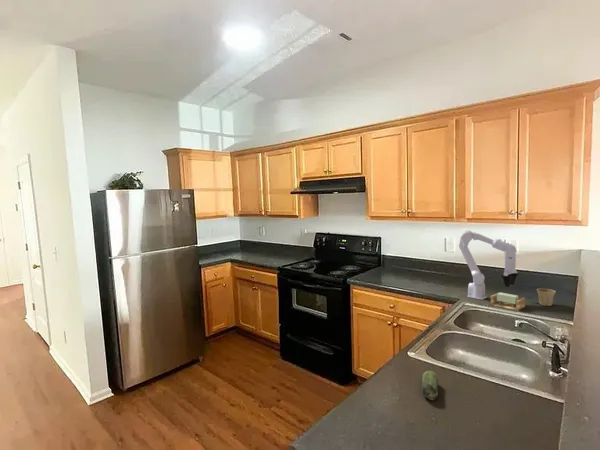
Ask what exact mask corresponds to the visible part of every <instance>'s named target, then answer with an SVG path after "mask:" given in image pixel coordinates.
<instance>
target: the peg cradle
mask: <svg viewBox="0 0 600 450" xmlns="http://www.w3.org/2000/svg"><path fill="white" fill-rule="evenodd" d="M498 293H499V292H496V293H494V294H492V295H490V306H493V305H494V306H493V307H498V308H499V307H500V308H503V309H509V310H512V311H517V312H519V311H521V310H522V309H523V308H524V309H525V307H526V297H521V298H519V299H518V300H517V301H516V304H512V303H507V302H502V301H497V294H498Z"/></svg>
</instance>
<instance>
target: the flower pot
mask: <svg viewBox="0 0 600 450" xmlns="http://www.w3.org/2000/svg"><path fill="white" fill-rule="evenodd" d="M536 292H537V295H538V303H539V305H541V306H549V307H550V306H553V302H554V297H555V295H556V292H557V291H556V290H555V289H554V290H553V289H550V288H537V289H536Z"/></svg>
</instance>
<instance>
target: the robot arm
mask: <svg viewBox="0 0 600 450" xmlns="http://www.w3.org/2000/svg"><path fill="white" fill-rule="evenodd" d="M472 240H473V241H480V242H483V243H486V244H489V245H491V246H492V249H493V248H494V249H496V250H497V251H501V252H505V256H504V271H503V274H501V278H502V280H503V283H504V286H505V287H507V288H510V286H511V285H512V286H514V285H515V283H516V280H517V277H518V275H519V273H518V271H517V269H516V268H517V267H516V265H517V263H516V262H517V259H516V258H517V257H516V256H517V254H516V253H517V248H516V246H515V245H513V244H512V243H509V242H506V241H503V240H502V239H500V238H498V239H497V238H496V239H492V238H490V237H487V236H485V235H483V234H481V233H477V232H476V231H471V230H465V231H464V232H463V233H462V234H461V236H460V239H459V245H458V247H459V250H460V252H461V254H462V255H463V256H462V257H463V258H464V259H465V263H466V265H467V266H468V268H469V271H470V272H471V276H472V281H473V282H469V283H468V287H467V297H468V298H471V299H477V300H485V299H486V298H487V299H488V296H486V284H485V277H486V276H485V275H484V274H483V272H481V270H480V269H479V267H478V264H477V263H476V261H475V259H474V257H473V255H472V253H471V251H470V249H469V247H468V246H469V243H470V242H471V241H472Z"/></svg>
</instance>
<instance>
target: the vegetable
mask: <svg viewBox="0 0 600 450" xmlns="http://www.w3.org/2000/svg"><path fill="white" fill-rule="evenodd" d="M438 382H439V378H438V375H437V373H435V372H434V371H433V370H426V371H424V372H423V374H422V382H421V383H422V384H421V392H422V395H423V396H424V398H426V399H427V400H430V401H435V400H436V399H437V397H438V395H439V390H438V389H439V386H438V385H439V383H438Z"/></svg>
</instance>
